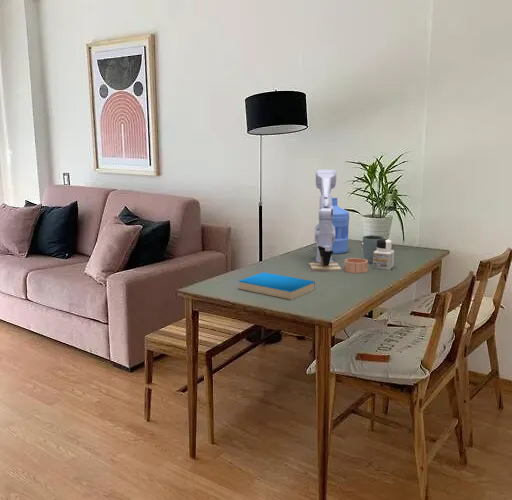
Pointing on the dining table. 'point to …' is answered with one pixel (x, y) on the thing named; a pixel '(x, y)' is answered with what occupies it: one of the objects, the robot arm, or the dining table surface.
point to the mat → (320, 271)
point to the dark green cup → (370, 246)
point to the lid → (320, 266)
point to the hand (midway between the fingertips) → (324, 263)
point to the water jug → (340, 228)
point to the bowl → (356, 265)
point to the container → (383, 255)
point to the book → (277, 285)
